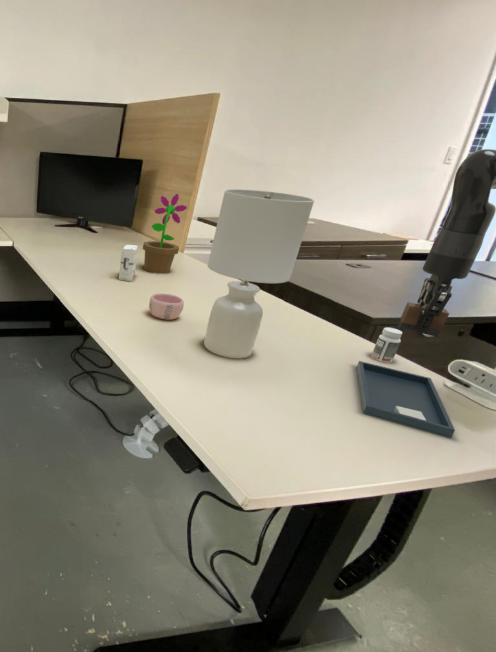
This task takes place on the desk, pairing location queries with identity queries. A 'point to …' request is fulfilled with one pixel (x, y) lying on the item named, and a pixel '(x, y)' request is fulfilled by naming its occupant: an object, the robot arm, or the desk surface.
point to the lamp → (251, 261)
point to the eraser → (412, 317)
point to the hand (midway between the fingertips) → (419, 327)
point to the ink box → (128, 262)
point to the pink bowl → (165, 306)
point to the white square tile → (409, 412)
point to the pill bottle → (387, 345)
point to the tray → (402, 398)
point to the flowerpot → (162, 252)
